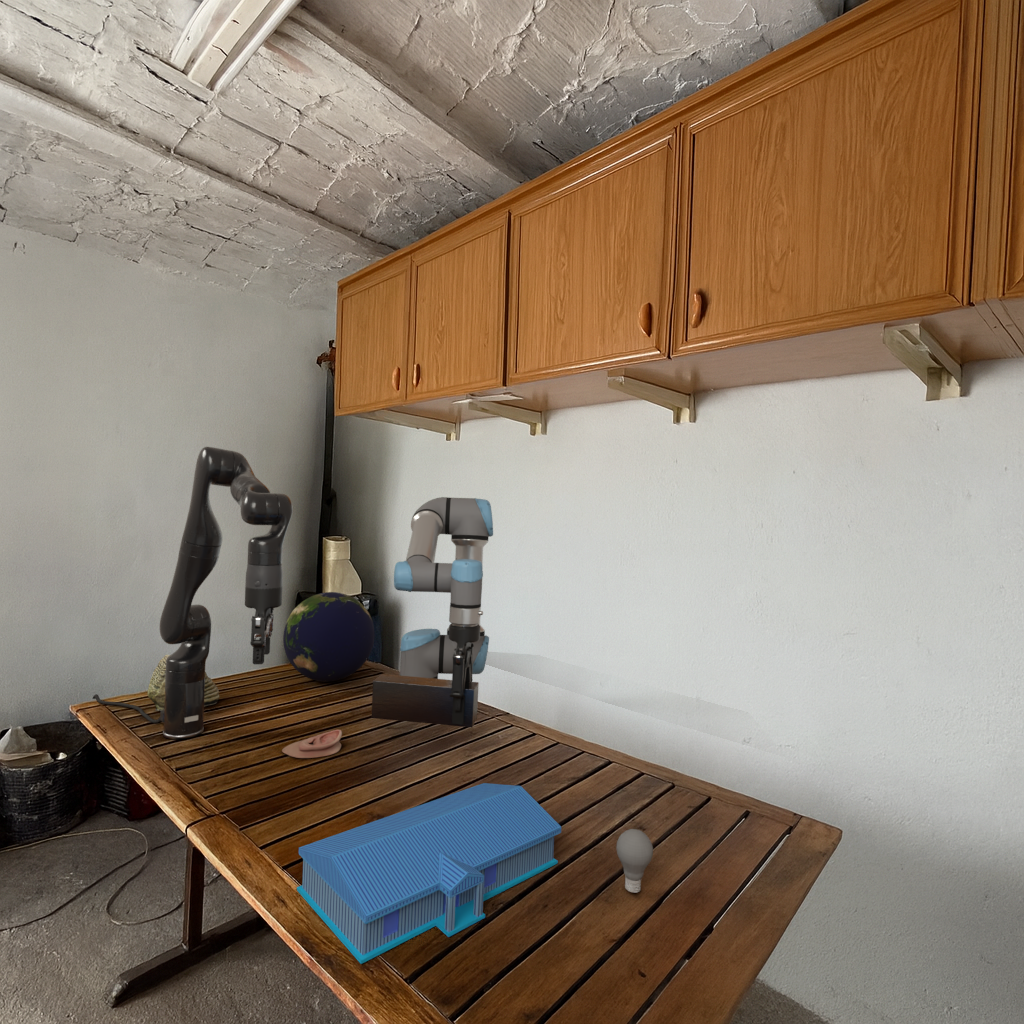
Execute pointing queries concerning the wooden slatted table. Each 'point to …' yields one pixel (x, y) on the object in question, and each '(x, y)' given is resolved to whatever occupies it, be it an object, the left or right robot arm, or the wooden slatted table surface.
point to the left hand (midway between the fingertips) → (261, 658)
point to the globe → (328, 636)
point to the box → (421, 700)
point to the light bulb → (634, 857)
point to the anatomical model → (315, 745)
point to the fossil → (158, 687)
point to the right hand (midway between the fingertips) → (460, 718)
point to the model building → (426, 866)
